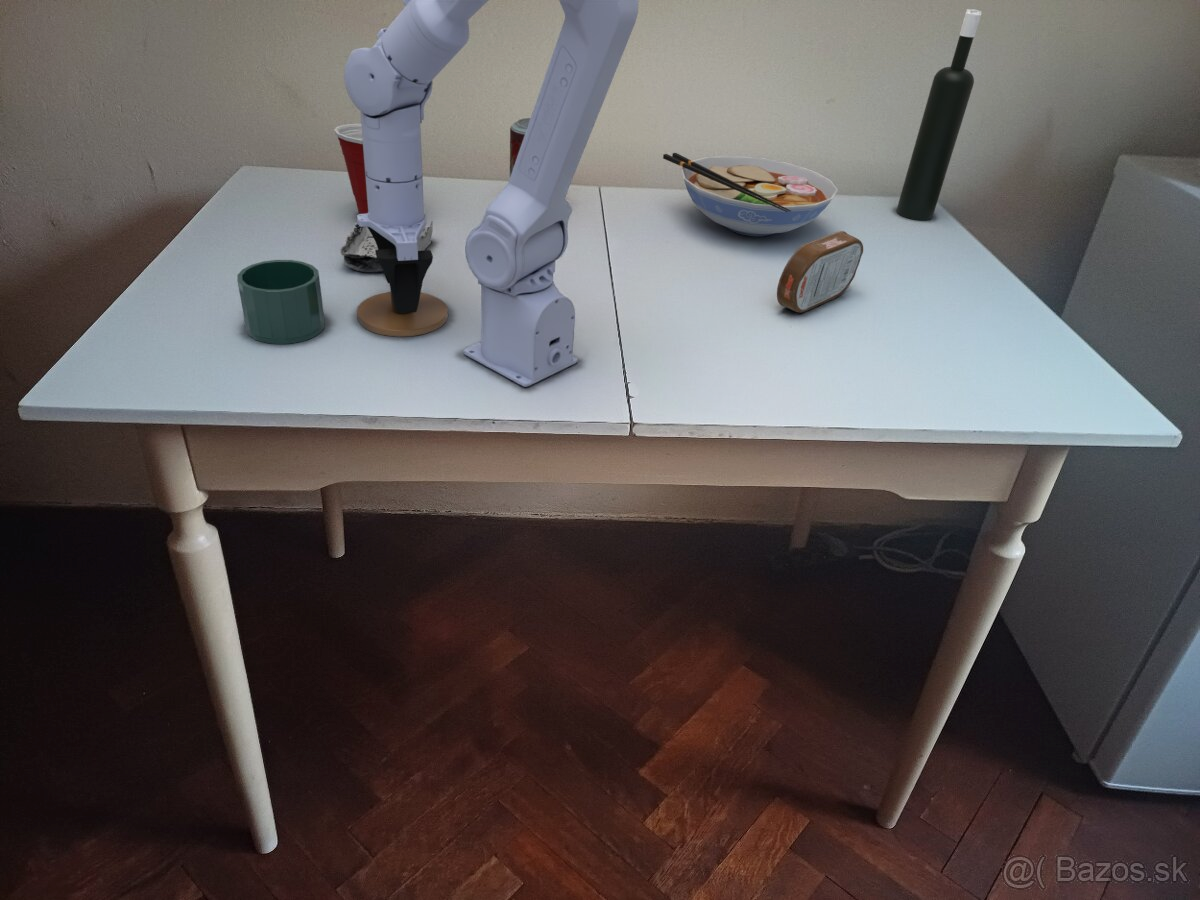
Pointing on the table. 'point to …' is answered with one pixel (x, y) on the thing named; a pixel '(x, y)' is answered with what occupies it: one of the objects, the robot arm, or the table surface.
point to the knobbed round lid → (401, 316)
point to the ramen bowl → (755, 192)
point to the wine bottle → (939, 129)
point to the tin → (819, 271)
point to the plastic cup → (354, 161)
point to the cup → (281, 301)
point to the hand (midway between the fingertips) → (401, 296)
